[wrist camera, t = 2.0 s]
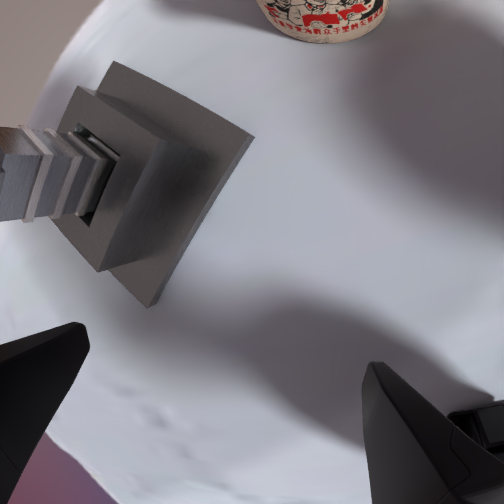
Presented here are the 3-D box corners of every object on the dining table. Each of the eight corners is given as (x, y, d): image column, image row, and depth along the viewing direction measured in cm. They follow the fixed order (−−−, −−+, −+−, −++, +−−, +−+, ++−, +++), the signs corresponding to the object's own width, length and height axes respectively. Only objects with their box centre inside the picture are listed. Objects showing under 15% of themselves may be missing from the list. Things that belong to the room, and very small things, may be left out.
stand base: (255, 136, 19) (211, 113, 13) (154, 304, 23) (100, 331, 17) (121, 64, 21) (69, 43, 15) (57, 204, 25) (5, 208, 20)
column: (155, 166, 20) (-9, 156, 9) (131, 214, 21) (-24, 235, 10) (114, 136, 21) (-31, 118, 10) (93, 181, 22) (-45, 185, 11)
